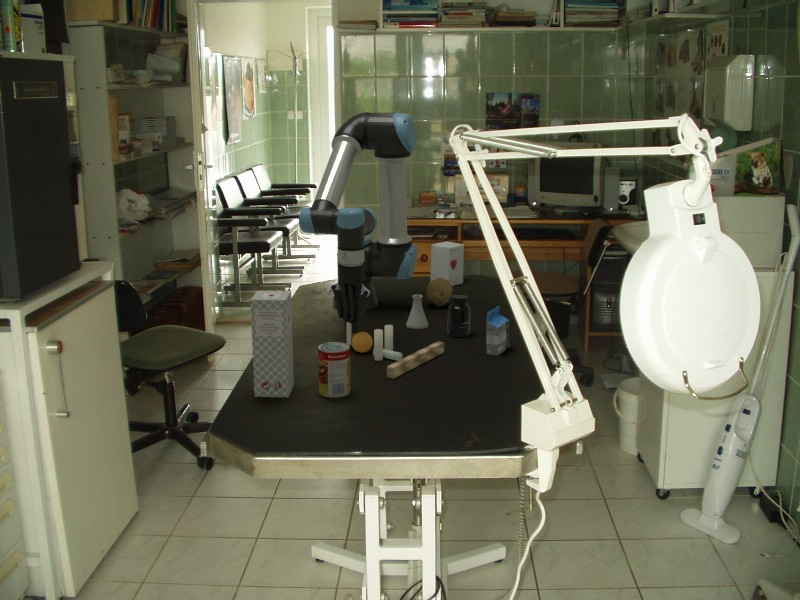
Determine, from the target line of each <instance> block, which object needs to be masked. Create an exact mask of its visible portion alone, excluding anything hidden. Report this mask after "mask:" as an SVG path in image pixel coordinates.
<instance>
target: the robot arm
mask: <svg viewBox="0 0 800 600" xmlns="http://www.w3.org/2000/svg"><path fill="white" fill-rule="evenodd" d="M417 140H418V139H417V128H416V125H415V122H414V118H413V117H412V116H411V115H410V114H408V113H401V112H369V111H367V112H366V111H365V112H359V113H356V114H354V115H352V116H351V117H349V118H348V119H347V120H346V121H344V122H343V124H341V126H340V127H339V128H338V129H337V131H336V132H335V134H334V135H333V138H332V141H331V149H332V150H331V154H330V157H329V159H328V161H327V163H326V167H325V170H324V172H323V175H322V178H321V181H320V183H319V185H318V188H317V191H316V194H315V197H314V200H313V203H312V205H311V207H310V206H308V207H303V208H302V209H301V210H300V212H299V216H298V225H299V228H300V230H301V232H302V233H306V234H314V235H318V234H319V235H336V237H337V253H336V259H337V261H336V262H337V283H334V284H331V286H330V289H331V291H332V293H333V298H332V306H333V308H334V309H336V310H337V316H338V318H339V319H342V320H343V322H344V332H346V344H348V345H349V346H352V338H353V336H354V335H355V334H356V333H358V332H359V323H360V322H361V321H364V320H365V317H366V313H367V311H369V310H370V311H371V310H373V309H376V308H377V307H378V302H379V301H378V297H377V293H376V291H375V287H374V285H373V278H380V279H381V278H382V279H393V280H407V279H410V278H411V277H412V276H413V274H414V271H415V269H416V266H417V260H418V253H419V251H418V250H419V249H418V246H417V244H415V243H413V238H412V237H411V236H410V235H409V234H408V214H407V213H408V210H407V209H408V208H407V207H408V205H407V204H408V203H407V202H408V200H407V198H408V196H407V193H408V192H407V191H408V190H407V161H408V160H409V159H410V158H411V155H412V152H414V151H415V150H416V149H417ZM365 150H367V151H368V150H369V151H373V152H374V158H375V159H376V160H377V162H378V164H379V165H378V166H379V198H380V200H379V204H380V205H379V206H380V207H379V208H380V235H379V236H377V238H376V242H374V241H373V240H374V239H373V238H372V237H371V236H369V235H370V234H372V233H373V232H374V231H375V230H376V228H377V226H378V223H379V220H378V216H377V214H376V213H375V211H373V209H371V208H366V207H361V208H360V207H354V206H353V207H342V208H339V206H340V203H341V201H342V197H343V194H344V192H345V189H346V186H347V183H348V181H349V178H350V176H351V175H350V174H351V172H352V170H353V166H354V164H355V161H356V158H358V157H359V156H360V155H361V154H362V151H365Z"/></svg>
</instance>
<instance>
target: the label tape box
mask: <svg viewBox="0 0 800 600" xmlns="http://www.w3.org/2000/svg"><path fill="white" fill-rule="evenodd" d="M500 307H501V306H500V305H498V306H496V307H494V308H493V309H491V310H490V311H488V312H487V313H486V336H485V337H486V339H485V340H486V345H485V346H486V347H485V348H486V351H485V353H486V355H491V356H498V357H499V356H500V355H501V354H502V353H504V352H505V351H506V350H508V349H509V348H510V346H511V345H510V344H511V343H510V342H511V339H510V337H511V330H510V329H511V327H510V326H511V324H510V323H511V321H510V319H508V318H506V317H505V316H503V315H501V314H500V313H499V312H500Z"/></svg>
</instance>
